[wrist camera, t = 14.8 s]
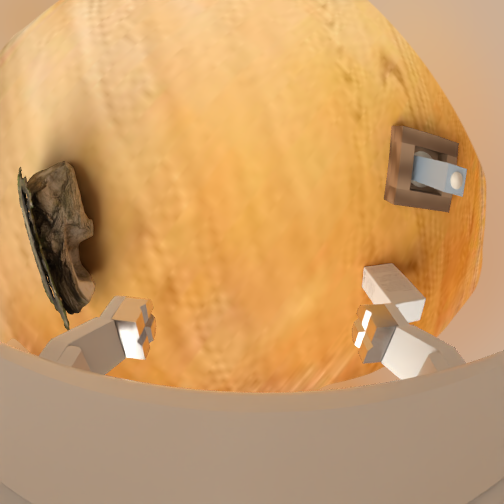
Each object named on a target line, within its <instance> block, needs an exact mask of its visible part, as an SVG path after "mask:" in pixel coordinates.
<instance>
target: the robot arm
mask: <svg viewBox="0 0 504 504" xmlns="http://www.w3.org/2000/svg"><path fill="white" fill-rule="evenodd" d="M152 310H153V304H152V301H151V300H150V299H145V298H136V297H127V296H114V298H113V299H112V300H111V302H110V303H109V304H108V306H107V307H106V309H105V310H104V311H103V313H102V314H101V316H100V317H99V318H97V317H95V318H93V319H91V320H89V321H87V322H85V323H83V324H81V325H79V326H77V327H75V328H73V329H71V330H69V331H67V332H65V333H63V334H61V335H59V336H57V337H55V338H53V339H51V340H50V341H49V343H48V344H47V345H46V347H45V348H44V349H43V351H42V352H41V354H40V355H39V356H36V355H33V354H30V353H27V352H25V351H22V350H20V349H17V348H14V347H12V346H9V345H7V344H5V343H2V342H0V504H504V350H503V351H501V352H498V353H496V354H493V355H491V356H487V357H485V358H482V359H479V360H476V361H473V362H470V363H466V362H465V361H464V359H463V358H462V357H461V355H460V354H459V353H458V351H457V350H456V348H455V347H453V346H451V345H449V344H447V343H445V342H444V341H442V340H440V339H438V338H436V337H434V336H433V335H431V334H429V333H427V332H425V331H423V330H421V329H420V328H418V327H416V326H414V325H410V324H409V323H408V322H407V320H406V319H405V318H404V316H403V315H402V313H401V312H400V311H399V309H398V308H397V307H396V305H395V304H393V303H386V304H374V305H360V306H359V308H358V311H357V316H358V319H357V320H356V321H355V322H354V324H353V328H352V338H353V342H354V344H355V345H356V346H357V347H359V351H358V354H359V356H360V358H361V360H362V363H375V362H381V363H382V364H383V365H384V366H386V367H387V368H388V369H389V370H390V371H392V372H393V373H394V374H395V375H396V376H398V377H399V378H400V379H401V380H397V381H392V382H386V383H380V384H373V385H366V386H359V387H350V388H341V389H331V390H317V391H300V392H228V391H211V390H199V389H188V388H179V387H171V386H163V385H156V384H149V383H143V382H137V381H132V380H126V379H121V378H116V377H112V376H107V375H105V374H106V373H108V372H109V371H110V370H111V369H113V368H114V367H115V366H116V365H118V364H119V363H120V362H121V361H123V360H124V359H125V358H126V357H129V358H137V359H145V360H146V357H147V355H148V352H149V350H150V345H149V343H150V342H151V341H153V340H154V337H155V333H156V320H155V317H154V316H153V315H152V314H151V312H152Z"/></svg>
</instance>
